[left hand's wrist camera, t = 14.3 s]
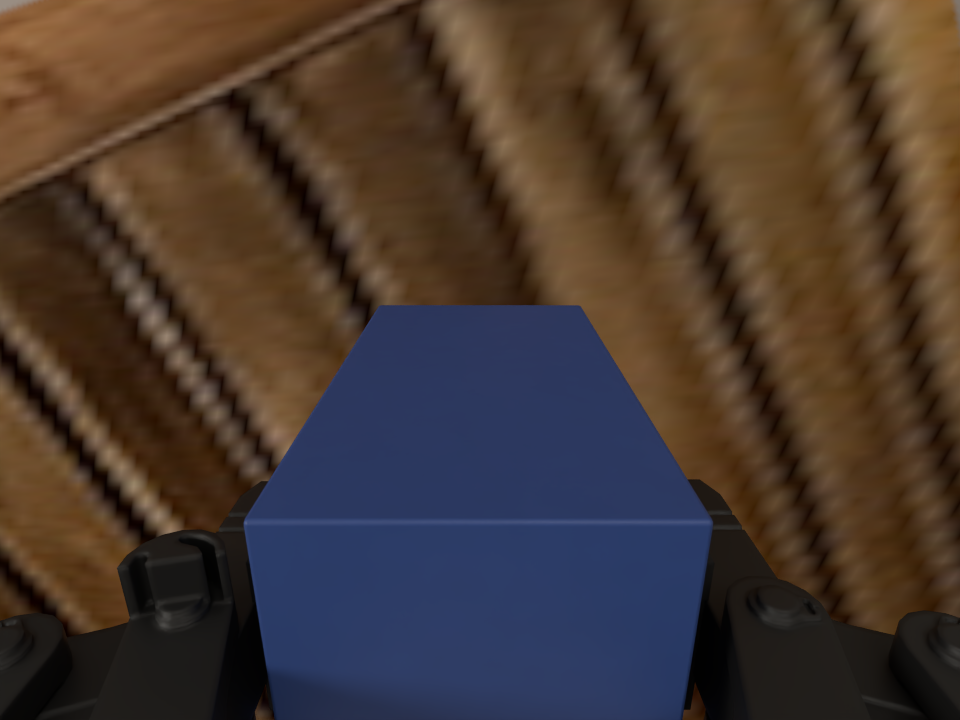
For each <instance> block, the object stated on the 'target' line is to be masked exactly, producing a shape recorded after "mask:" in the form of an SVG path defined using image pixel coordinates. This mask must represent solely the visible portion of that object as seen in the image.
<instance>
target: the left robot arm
mask: <svg viewBox="0 0 960 720" xmlns="http://www.w3.org/2000/svg"><path fill="white" fill-rule="evenodd" d="M688 481H689V483H690V485H691V486H692V488H693V490H694V491H695V493H696V494H697V496H698V498H699V499H700V501H701V502H702V504H703V506H704V507H705V509H706V511H707V512H708V514H709V515H710V517H711V519H712V521H713V529H712V535H711V541H710V548H709V554H708V560H707V566H706V573H705V579H704V585H703V592H702V598H701V604H700V611H699V617H698V623H697V629H696V636H695V642H694V648H693V655H692V661H691V667H690V674H689V680H688V686H687V692H686V699H685V705H684V710H690V708H691V702H692V696H693V690H694V684H695V683H696V685H697V688H698V690H699V693H700V695H701V698H702V700H703V703H704V705H705V708H706V711H705V716H704V720H960V618H958V617H955V616H952V615H949V614H946V613H939V612H932V611H918V612H912V613H908V614H907V615H905V616H904V617H903V618H902V619H901V620H900V621H899V623H898V626H897V630H896V633H895V635H891V634H887V633H882V632H878V631H874V630H869V629H865V628H861V627H856V626H852V625H848V624H845V623H841V622H838V621H835V620H831V618H830V616H829V615H828V613H827V612H826V610H825V609H824V607H823V606H822V604H821V603H820V602H819V601H817V600H816V599H815V598H814V597H813V596H811V595H810V594H809V593H808V592H806V591H805V590H803V589H801V588H799V587H797V586H795V585H793V584H791V583H789V582H787V581H783V580H780V579H777V577H776V576H775V574H774V573H773V571H772V570H771V568H770V567H769V566H768V564H767V563H766V561H765V560H764V558H763V557H762V555H761V554H760V552H759V551H758V549H757V548H756V546H755V545H754V543H753V542H752V540H751V539H750V538H749V536H748V535H747V533H746V532H745V530H742V526H741V524H740V523H739V521H738V520H737V518H736V517H735V515H732V511H731V510H730V508H729V507H728V505H727V504H726V502H725V501H724V499H723V498H722V496H721V495H720V494H719V493H718V492H716V491H715V490H713V489H712V488H711V487H709V486H708V485H706V484H705V483H704V482H702V481H701V480H688ZM267 483H268V481H261V482H260V483H258V484H257V485H256V486H254V487H253V488H251V489H250V490H249V491H247V492H246V493H244V494H243V495H242V496H240V498H239V499H238V501H237V502H236V504H235V505H234V507H233V508H232V510H231V511H230V513H229V517H226V519H225V520H224V522H223V523H222V525H221V526H220V528H219V532H216V533H212V532H209V531H205V530H181V531H177V532H173V533H169V534H164V535H161V536H159V537H157V538H155V539H152V540H150V541H148V542H146V543H143V544H142V545H140V546H139V547H138V548H136V549H135V550H133V551H132V552H131V553H129V554H128V555H127V556H126V557H125V558H124V560H123V561H122V562H121V564H120V565H119V566H118V567H117V569H118V573H119V577H120V581H121V585H122V589H123V593H124V596H125V600H126V604H127V608H128V612H129V616H130V619H129V622H128V623H124V624H121V625H118V626H114V627H111V628H106V629H102V630H98V631H93V632H89V633H85V634H80V635H76V636H72V637H66V634H65V631H64V628H63V625H62V623H61V622H60V621H59V620H58V619H56V618H55V617H54V616H53V615H47V614H41V613H33V614H26V615H18V616H14V617H11V618H8V619H5V620H2V621H0V720H256V716H255V709H256V707H257V704H258V702H259V699H260V697H261V694H262V692H263V689H264V687H265V684H266V688H267V694H268V700H269V706H270V710H273V704H272V698H271V692H270V686H269V679H268V673H267V667H266V661H265V655H264V648H263V642H262V636H261V630H260V623H259V617H258V611H257V605H256V599H255V592H254V586H253V580H252V574H251V568H250V561H249V555H248V549H247V543H246V536H245V530H244V520H245V518H246V516H247V515H248V513H249V512H250V510H251V508H252V507H253V505H254V504H255V502H256V500H257V499H258V497H259V496H260V494H261V492H262V491H263V489H264V488H265V486H266V485H267Z"/></svg>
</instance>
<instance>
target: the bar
mask: <svg viewBox="0 0 960 720" xmlns="http://www.w3.org/2000/svg"><path fill="white" fill-rule="evenodd" d="M712 529H713V521H712V519H711V517H710V515H709V514H708V512H707V511H706V509H705V507H704V506H703V504H702V502H701V501H700V499H699V498H698V496H697V494H696V493H695V491H694V490H693V488H692V486H691V485H690V483H689V481H688V480H687V478H686V477H685V475H684V473H683V472H682V470H681V468H680V467H679V465H678V464H677V462H676V460H675V459H674V457H673V455H672V454H671V452H670V451H669V449H668V447H667V446H666V444H665V443H664V441H663V439H662V438H661V436H660V434H659V433H658V431H657V430H656V428H655V426H654V425H653V423H652V421H651V420H650V418H649V417H648V415H647V413H646V412H645V410H644V409H643V407H642V405H641V404H640V402H639V400H638V399H637V397H636V396H635V394H634V392H633V391H632V389H631V387H630V386H629V384H628V383H627V381H626V379H625V378H624V376H623V375H622V373H621V371H620V370H619V368H618V366H617V365H616V363H615V362H614V360H613V358H612V357H611V355H610V353H609V352H608V350H607V349H606V347H605V345H604V344H603V342H602V340H601V339H600V337H599V336H598V334H597V332H596V331H595V329H594V328H593V326H592V324H591V323H590V321H589V319H588V318H587V316H586V315H585V313H584V311H583V310H582V308H581V306H484V305H381V306H379V307H378V309H377V310H376V312H375V313H374V315H373V317H372V318H371V320H370V321H369V323H368V325H367V326H366V328H365V329H364V331H363V332H362V334H361V336H360V337H359V339H358V340H357V342H356V344H355V345H354V347H353V348H352V350H351V351H350V353H349V355H348V356H347V358H346V359H345V361H344V363H343V364H342V366H341V367H340V369H339V370H338V372H337V374H336V375H335V377H334V378H333V380H332V382H331V383H330V385H329V386H328V388H327V390H326V391H325V393H324V394H323V396H322V397H321V399H320V401H319V402H318V404H317V405H316V407H315V409H314V410H313V412H312V413H311V415H310V416H309V418H308V420H307V421H306V423H305V424H304V426H303V428H302V429H301V431H300V432H299V434H298V435H297V437H296V439H295V440H294V442H293V443H292V445H291V447H290V448H289V450H288V451H287V453H286V454H285V456H284V458H283V459H282V461H281V462H280V464H279V466H278V467H277V469H276V470H275V472H274V473H273V475H272V477H271V478H270V480H269V481H268V483H267V485H266V486H265V488H264V489H263V491H262V492H261V494H260V496H259V497H258V499H257V500H256V502H255V504H254V505H253V507H252V508H251V510H250V512H249V513H248V515H247V516H246V518H245V520H244V530H245V536H246V543H247V549H248V555H249V561H250V568H251V574H252V580H253V586H254V592H255V599H256V605H257V611H258V617H259V623H260V630H261V636H262V642H263V648H264V655H265V661H266V667H267V673H268V679H269V686H270V692H271V698H272V704H273V710H274V717H275V720H682V718H683V711H684V705H685V699H686V692H687V686H688V680H689V674H690V667H691V661H692V655H693V648H694V642H695V636H696V629H697V623H698V617H699V611H700V604H701V598H702V592H703V585H704V579H705V573H706V566H707V560H708V554H709V548H710V541H711V535H712Z"/></svg>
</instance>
